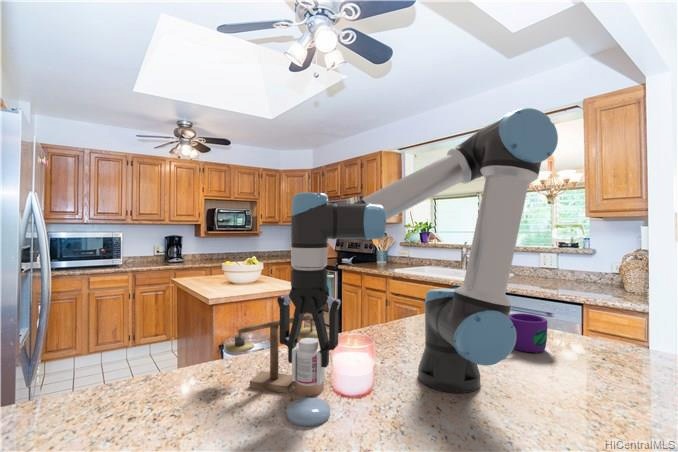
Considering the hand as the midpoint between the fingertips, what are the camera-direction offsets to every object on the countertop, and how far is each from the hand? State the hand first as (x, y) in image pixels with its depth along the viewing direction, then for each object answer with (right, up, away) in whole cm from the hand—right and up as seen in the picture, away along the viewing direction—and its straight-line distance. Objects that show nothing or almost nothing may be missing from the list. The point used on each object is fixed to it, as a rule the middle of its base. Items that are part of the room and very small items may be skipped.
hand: (308, 379), depth 73 cm
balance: (-10, -7, +13) cm, 18 cm away
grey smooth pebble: (0, -7, 0) cm, 7 cm away
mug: (+64, -8, +39) cm, 75 cm away
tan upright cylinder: (-1, -7, +11) cm, 13 cm away
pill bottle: (0, -1, 0) cm, 1 cm away
